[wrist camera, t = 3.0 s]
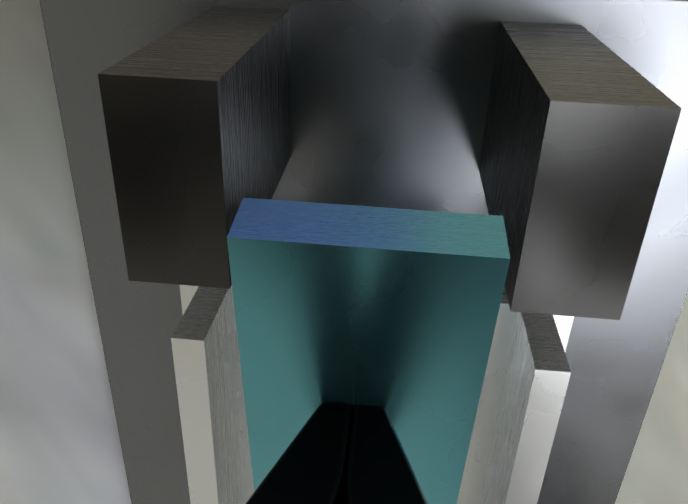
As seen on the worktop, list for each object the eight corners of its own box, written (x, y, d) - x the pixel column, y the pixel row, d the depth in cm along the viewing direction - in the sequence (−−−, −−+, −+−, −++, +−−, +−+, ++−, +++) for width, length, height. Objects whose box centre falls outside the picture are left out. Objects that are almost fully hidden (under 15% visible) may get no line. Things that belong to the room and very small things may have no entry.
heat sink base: (567, 567, 22) (624, 820, 16) (158, 524, 23) (68, 748, 17) (749, -6, 13) (1026, 84, 7) (69, -39, 14) (-185, 17, 8)
